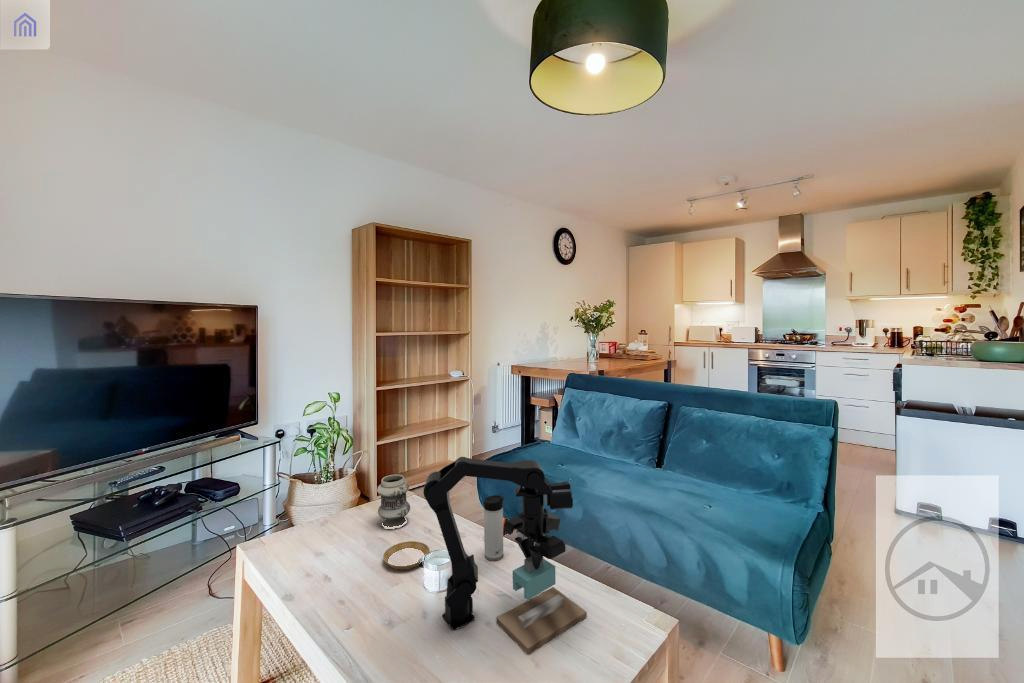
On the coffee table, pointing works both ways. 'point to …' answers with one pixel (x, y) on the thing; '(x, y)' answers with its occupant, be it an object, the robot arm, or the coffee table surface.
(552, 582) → the grooved box
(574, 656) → the coffee table surface
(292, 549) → the coffee table surface
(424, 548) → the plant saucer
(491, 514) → the travel mug
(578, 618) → the cleat board
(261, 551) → the coffee table surface
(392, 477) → the apothecary jar
